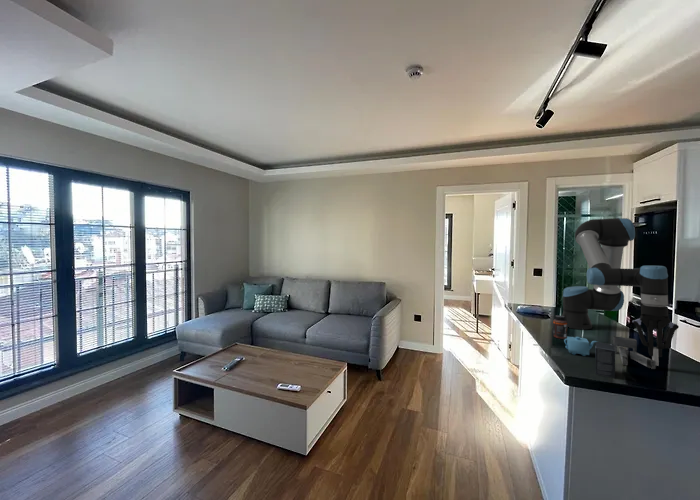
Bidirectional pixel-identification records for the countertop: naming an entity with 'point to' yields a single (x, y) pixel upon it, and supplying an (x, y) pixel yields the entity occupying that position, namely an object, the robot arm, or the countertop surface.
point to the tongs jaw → (643, 360)
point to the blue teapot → (578, 345)
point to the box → (605, 359)
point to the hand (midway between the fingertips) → (655, 364)
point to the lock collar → (625, 343)
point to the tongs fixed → (623, 355)
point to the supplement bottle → (560, 327)
